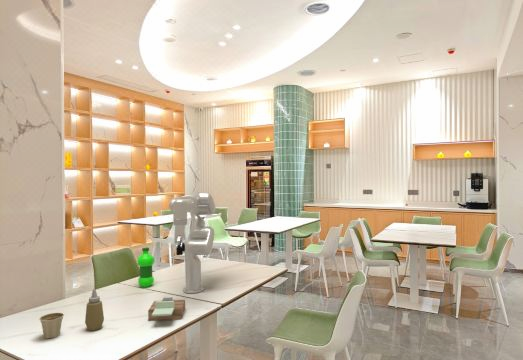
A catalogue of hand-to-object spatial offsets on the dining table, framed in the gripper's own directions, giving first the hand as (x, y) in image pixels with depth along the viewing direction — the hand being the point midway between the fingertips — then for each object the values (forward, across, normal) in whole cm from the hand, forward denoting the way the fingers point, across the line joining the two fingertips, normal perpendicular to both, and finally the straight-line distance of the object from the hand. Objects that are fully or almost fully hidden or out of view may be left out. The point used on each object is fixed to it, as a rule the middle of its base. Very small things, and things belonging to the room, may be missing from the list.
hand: (180, 253), depth 195 cm
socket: (+28, +15, -5) cm, 32 cm away
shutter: (+23, +26, -5) cm, 35 cm away
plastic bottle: (+29, -38, -28) cm, 55 cm away
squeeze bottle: (+28, +28, -36) cm, 54 cm away
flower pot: (+28, +34, -52) cm, 68 cm away
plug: (+28, +15, -5) cm, 32 cm away
